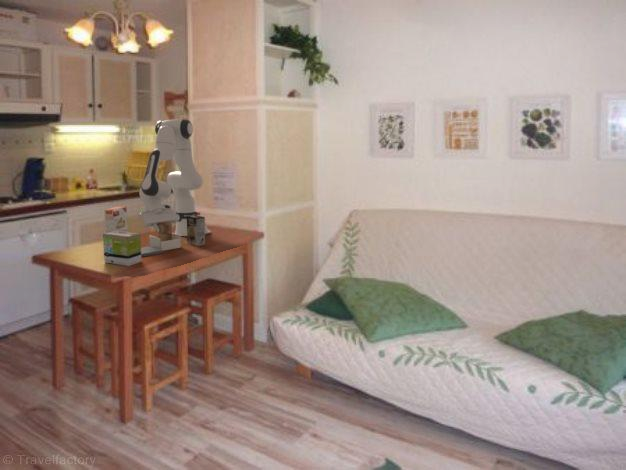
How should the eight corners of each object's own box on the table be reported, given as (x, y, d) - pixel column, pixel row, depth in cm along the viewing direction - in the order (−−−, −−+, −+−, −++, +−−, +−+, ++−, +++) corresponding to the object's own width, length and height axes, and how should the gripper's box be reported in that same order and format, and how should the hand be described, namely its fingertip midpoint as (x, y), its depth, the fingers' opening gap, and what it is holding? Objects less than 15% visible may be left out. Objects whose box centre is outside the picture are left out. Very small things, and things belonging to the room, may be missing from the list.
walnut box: (168, 246, 310) (167, 221, 307) (172, 247, 307) (171, 222, 304) (158, 247, 306) (157, 222, 303) (162, 249, 303) (161, 223, 300)
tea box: (103, 263, 270) (101, 233, 268) (117, 258, 280) (116, 230, 277) (128, 266, 265) (127, 236, 262) (142, 261, 274) (140, 232, 271)
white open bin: (170, 244, 315) (170, 232, 314) (181, 247, 307) (181, 235, 306) (149, 247, 306) (149, 235, 304) (160, 251, 298) (159, 238, 297)
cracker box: (115, 247, 306) (113, 209, 302) (105, 246, 307) (103, 209, 303) (128, 242, 319) (126, 206, 316) (119, 241, 321) (117, 206, 317)
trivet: (149, 248, 303) (149, 246, 303) (163, 253, 293) (163, 250, 293) (125, 252, 293) (125, 249, 293) (138, 257, 283) (138, 254, 283)
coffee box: (187, 243, 318) (186, 215, 315) (196, 242, 322) (195, 214, 319) (196, 246, 312) (195, 217, 308) (205, 244, 316) (205, 216, 313)
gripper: (140, 208, 300) (150, 229, 295) (173, 205, 314) (183, 224, 309) (136, 216, 304) (146, 236, 299) (169, 212, 318) (179, 231, 313)
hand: (165, 230), depth 304 cm, fingers closed on walnut box, 6 cm apart
